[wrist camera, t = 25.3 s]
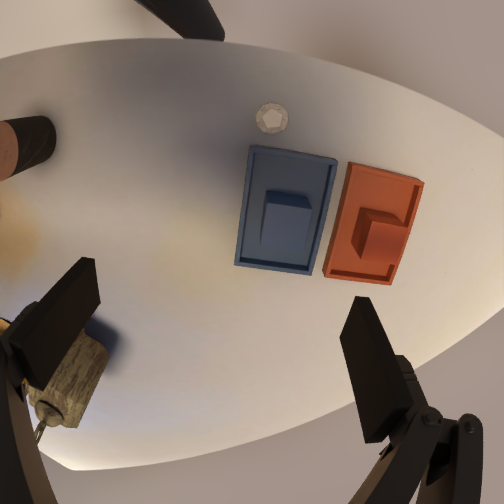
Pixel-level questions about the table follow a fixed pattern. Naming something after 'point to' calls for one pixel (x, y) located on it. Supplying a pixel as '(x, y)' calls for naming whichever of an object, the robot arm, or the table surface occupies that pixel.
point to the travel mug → (25, 144)
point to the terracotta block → (378, 236)
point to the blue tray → (291, 182)
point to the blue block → (285, 220)
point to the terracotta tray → (376, 198)
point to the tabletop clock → (70, 385)
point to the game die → (272, 118)
